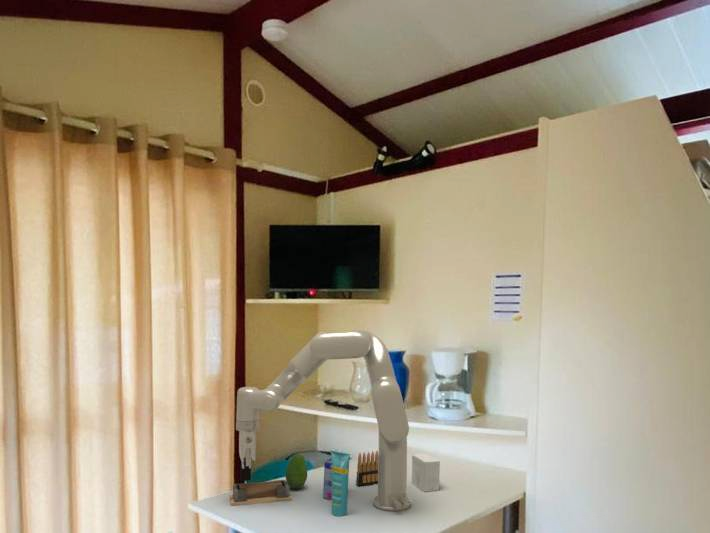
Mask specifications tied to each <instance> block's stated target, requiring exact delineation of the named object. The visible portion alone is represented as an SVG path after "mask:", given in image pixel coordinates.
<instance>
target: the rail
mask: <svg viewBox="0 0 710 533" xmlns="http://www.w3.org/2000/svg"><path fill="white" fill-rule="evenodd" d="M277 481H281V483H282V486H279V487H277V497H266V498H255V499H247V489H244V490H239V484H240V483H234V484H232V494H230V495H229V501H230V506H233V505H234V506H244V505H243V504H245V505H253V503H254V504H263V503H274V502H275V503H276V502H283V501H285V502H286V501H292V500H293V497H292V494H291V492H290V487H289V485H288V483H287V481H286V479H281V480H277ZM241 484H245V483H244V482H243V483H241ZM234 506H233V507H234Z"/></svg>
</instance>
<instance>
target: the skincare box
mask: <svg viewBox="0 0 710 533" xmlns="http://www.w3.org/2000/svg"><path fill="white" fill-rule="evenodd" d="M411 458H412V460H411V463H412V464H411V465H412V466H411V484H412V485H415V487H417V488H418V489H420V490H421V491H422V492H424V493H425V492H437V491H440V472H441V470H440V468H441V466H440V464H441V462H440V460H439V459H437V458H435V457H433V456H432V455H430V454H428V453H415V454H412V455H411Z"/></svg>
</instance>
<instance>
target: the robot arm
mask: <svg viewBox="0 0 710 533" xmlns="http://www.w3.org/2000/svg"><path fill="white" fill-rule="evenodd" d="M361 358H363V359H364V362H365V365H366V369H367V373H368V376H369V380H370V387H371V389H370V390H371V393H370V394H371V401H372V404H373V410H374V415H375V417H376V422H377V425H378V484H377V495H376V496H375V497H373V499H372V505H373V506H374V507H375V508H377V509H381V510H383V511H388V512H389V511H390V512H399V511H405V510H407V509H409V508H410V507H411V506H412V500H411V499H410V498H409V497H408V496H407V480H408V478H407V475H408V474H407V472H408V471H407V470H408V469H407V468H408V467H407V466H408V460H407V459H408V441H407V440H408V435H409V430H410V425H409V422H408V417H407V412H406V408H405V404H404V400H403V396H402V392H401V388H400V385H399V384H398V381H397V377H396V375H395V371H394V367H393V363H392V360H391V356H390V353H389V349H388V348H387V346H386V344H385V343H384V341H383V340H382V339H381V338H380V337H379V336H378V335H377V334H374V333H372V332H371V331H368V330H365V329H355V330H352V331H350V332H335V333H333V332H331V333H330V332H328V331H320V332H318V333H317V334H316V335H314V336H313V337H312V338H311V340H310V341H309V342H308V343H306V345H305V346H304V347H303V348H302V349H301V350H300V351H299V352H298V353H296V355H294V357H293V358H292V359H290V361H289V362H288V364H287V366H286V367H285V368H284V370H282V372H281V373H280V374H279V375H278V376H277V377H276V378H275V379H274V380H273V381H272V382H271V383H270V384H269V385H268V386H267V387H266V388H264V389H259V388H258V387H255V386H243V387H240V388H238V390H237V394H236V395H237V396H236V417H235V418H236V422H235V430H236V431H238V432H239V433H238V441H239V442H238V454H239V455H238V456H239V458H240V461H241V465H240V466H241V467H240V481H241V482H247V481H251V480H252V479H251V478H252V467H251V466H252V461H253V462H256V461H257V432H256V431H258V430H259V427H260V411H261V412H265V413H271V412H272V413H273V412H274V411H276V410H277V409H278V408H280V406H281V404H282V403H283V402H285V400H286V399H288V397H289V396H290V395H291V394H292V393H293V392H294V391H295V390H296V389H297V388H298V387H299V386H300V385H302V384H303V383H304V382H306V381H307V380H308V379H310V378H311V376H312V375H313V374H314V373H316V371H317V370H319V368H320V367H321V366H322V365H323V364H325V362H326V361H327V360H347V359H350V360H351V359H361Z"/></svg>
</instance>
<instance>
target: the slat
mask: <svg viewBox="0 0 710 533" xmlns="http://www.w3.org/2000/svg"><path fill="white" fill-rule="evenodd" d="M238 484H239V490H244V489H247V499H255V498H266V497H277V487H279V486H282V483H281V481H278V480H272V481H258V482H247V483H245V484H242V483H238Z"/></svg>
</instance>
